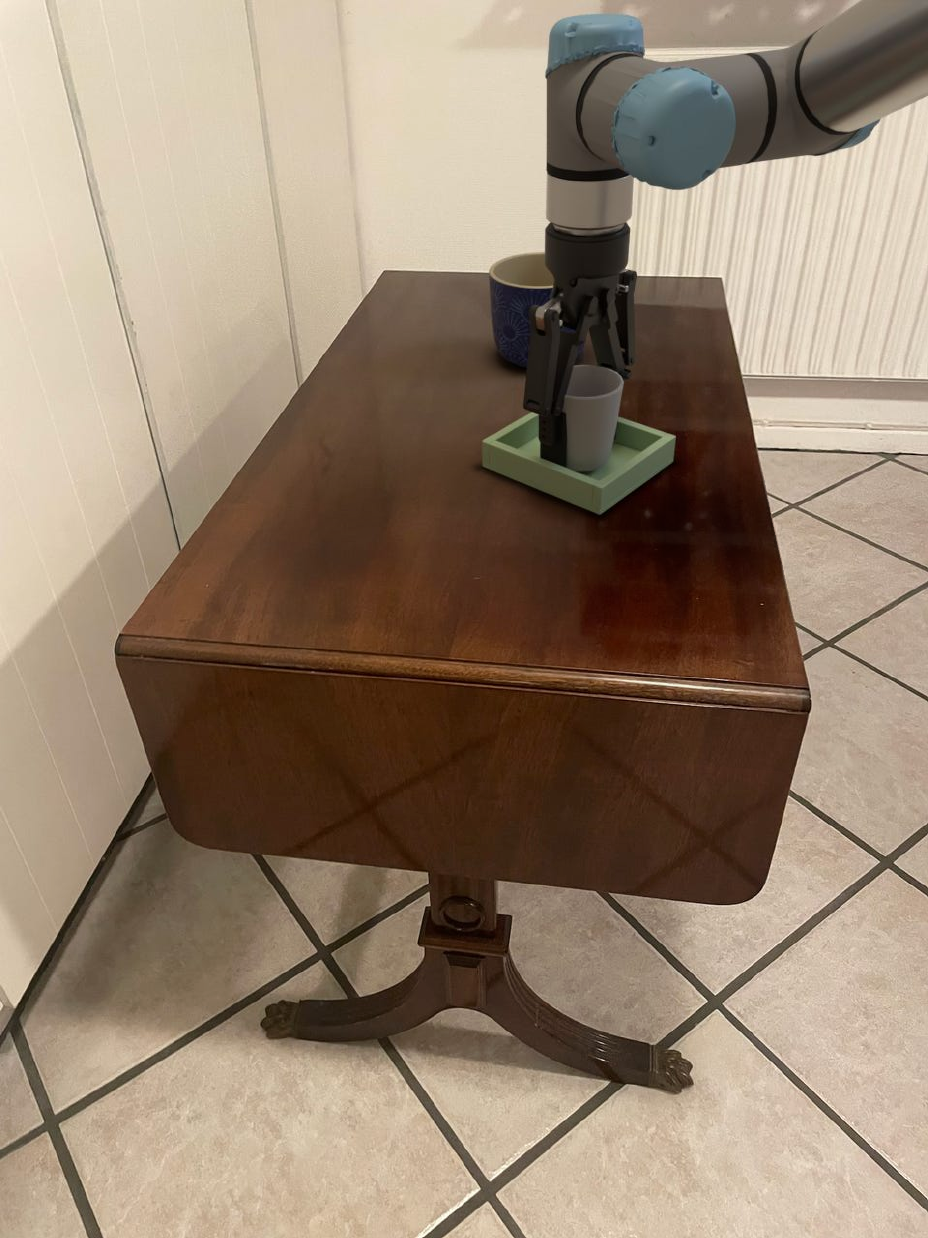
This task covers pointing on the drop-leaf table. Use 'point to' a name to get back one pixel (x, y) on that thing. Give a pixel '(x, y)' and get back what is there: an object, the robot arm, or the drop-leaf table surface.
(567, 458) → the cup
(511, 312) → the planter
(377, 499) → the drop-leaf table surface
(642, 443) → the tray
